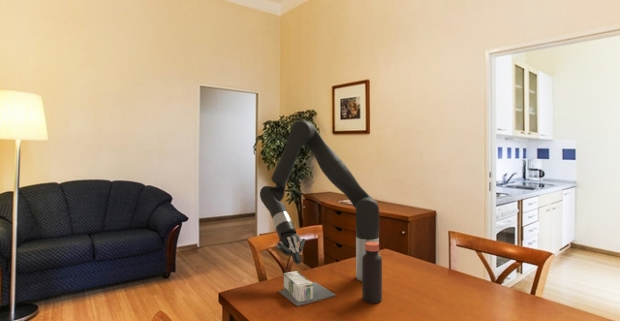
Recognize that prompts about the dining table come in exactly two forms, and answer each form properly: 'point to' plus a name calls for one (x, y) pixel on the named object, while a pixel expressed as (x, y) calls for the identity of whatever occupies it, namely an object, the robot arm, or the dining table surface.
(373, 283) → the bottle
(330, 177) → the robot arm
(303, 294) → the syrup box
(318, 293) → the slate mat
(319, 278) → the dining table surface
